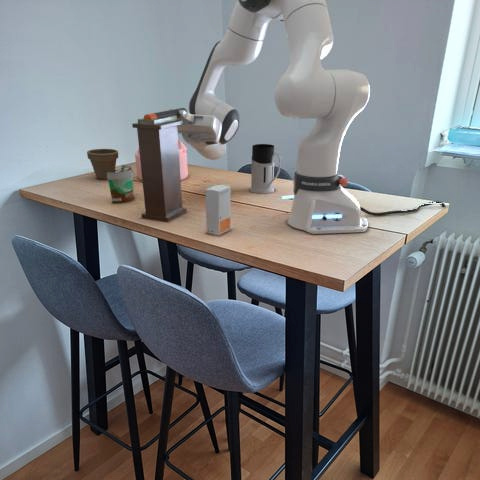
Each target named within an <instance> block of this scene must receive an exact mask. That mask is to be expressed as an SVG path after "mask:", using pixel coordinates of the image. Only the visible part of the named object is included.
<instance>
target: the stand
mask: <svg viewBox="0 0 480 480" xmlns="http://www.w3.org/2000/svg"><path fill="white" fill-rule="evenodd" d="M182 124H183V121H182V120H177V116H175V115H174V116H169V117H165V118H160V119H155V120H145V119H144V117H142V118H137V122H135V123H132V124H131V125H132V129H136V132H137V140H138V149H139V152H140V162H141V172H142V180H141V182H142V190H143V191H142V192H143V201H144V209H145V211H144V212H143V213H141V219H145V220H152V221H157V222H165V223H169V222H171V221H172V220H174V219H176V218H179V217H180V216H181V215H183V214H185V213H187V209H188V208H187V207H183V198H182V197H183V194H182V180H181V178H180V162H179V145H178V140H179V134H178V129H177V126H178V125H182Z"/></svg>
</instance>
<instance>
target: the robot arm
mask: <svg viewBox="0 0 480 480" xmlns="http://www.w3.org/2000/svg"><path fill="white" fill-rule="evenodd" d="M272 20H279V21H280V22H283V23H284V24H283V25H284V29H285V34H286V38H287V44H288V50H289V62H288V67H287V69H286V71H284V73H283V74H282V75H281V77H280V78H279V79H278V81H277V83H276V85H275V88H274V103H275V106H276V108H277V109H276V110H278V112H279V114H281V116H283V117H286V118H291V119H295V120H296V119H297V120H310V119H316V120H315V122H314V125H313V127H312V128H311V130H310V131H309V132H308V133H306V134H305V135H304V136H303V137H301V138H300V140H299V142H298V144H297V154H296V155H297V156H296V169H295V172H294V176H293V183H292V185H293V186H292V187H293V188H292V189H293V194H292V195H283V196H281V199H282V200H284V199H285V200H286V199H292V205H291V209H290V212H289V216H288V219H287V224H288V225H289V226H290V227H292V228H294V229H298V230H301V231H304V232H306V233H309V234H312V235H322V234H323V235H324V234H327V235H328V234H347V233H350V234H351V233H364V232H366V231H367V230H368V228H369V224H368V220H367V218H365V217H364V216H363V215H362V213H365V214H366V215H369V216H377V217H378V216H380V217H381V216H387V215H388V216H389V215H394V214H395V215H396V214H409V213H414V212H416V211H418V210H420V209H421V208H423V207H429V206H433V205H434V204H425V203H423V204H424V205H421V206H419V207H418V208H417V209H414V208H412V209H413V210H409V209H406V210H407V211H401V210H402V209H399V210H389V211H382V212H381V211H380V212H374V211H370V210H368V209H365V208H364V207H361V206H360V203H359V201H358V200H357V199H356V198H355V197H354V196H353V195H352V194H350V192H349V191H347V190H346V189H345V188H344V187H346V185H348V180H347V178H346V177H345V176H344V175H342V174H341V173H339V172H338V168H339V161H340V160H339V159H340V154H341V153H340V152H341V149H342V143H343V140H344V137H345V135H346V132H347V130H348V129H349V127H350V125H351V124H352V122H353V120H354V119H355V118H356V117H357V116H358V115H359V113H361V112H362V111H363V110H364V109H365V108H366V106H367V103H368V102H369V99H370V94H371V88H370V87H371V86H370V82H369V79H368V78H367V76H366V75H365V74H364V73H362V72H359V71H356V70H352V69H345V68H344V69H326V68H324V67H323V65H322V60H323V59H324V58H326V57H327V55H328V54H329V53H330V52H331V51H332V49H333V45H334V41H335V37H334V32H333V27H332V23H331V18H330V13H329V9H328V5H327V1H326V0H236V2H235V4H234V7H233V10H232V12H231V15H230V19H229V22H228V26H227V29H226V32H225V34H224V36H223V37H222V39H221V40H218V41H217V42H216V43H215V44H214V45H213V47H212V49H211V51H210V53H209V55H208V58H207V60H206V63H205V66H204V68H203V70H202V73H201V76H200V79H199V81H198V84H197V86H196V89H195V90H194V93H192V96H191V97H190V99H189V102H188V111H189V112H188V111H187V112H186V111H185V110H179V113H178V116H179V117H180V118H177V120H182V121H183V124H182V125H178V126H177V129H178V135H181V137H182V139H183V141H184V142H185V143H187V144H188V145H189V146H190V147H191V148H192V149H194V150H196V152H197V153H198V154H199V155H200V156H202V157H204V158H205V159H207V160H211V161H216V160H219V159H221V158H222V157H224V155H225V154H226V151H227V145H228V143H229V142H230V141H231V140H232V139H233V138H234V137H235V135H236V134H237V133H238V130H239V128H240V113H239V111H238V110H237V109H235V108H234V107H233V106H231V105H229V103H227V102H225V101H223V100H222V99H220V98H218V97H217V95H216V94H215V90H216V87H217V84H218V82H219V80H220V77H221V75H222V73H223V71H224V69H225V68H226V67H228V66H232V67H233V66H235V67H236V66H237V67H239V66H241V67H242V66H247V65H250V64H252V63H253V62H255V61H256V59H257V58H258V57H259V55H260V53H261V51H262V47H263V44H264V41H265V38H266V33H267V29H268V26H269V25H270V22H271V21H272ZM168 110H173V109H172V108H171V109H169V108H168V109H167V111H168ZM431 202H432V203H433V202H436V203H442V204H439V205H440V207H442V208H446V204H445V203H444V202H443V201H439V200H434V201H428V203H431ZM426 303H430V300H426Z"/></svg>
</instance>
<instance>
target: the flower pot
mask: <svg viewBox="0 0 480 480" xmlns="http://www.w3.org/2000/svg"><path fill="white" fill-rule="evenodd" d="M86 156H87V159H88V160H90V163H91V166H92V170H93V172H94V174H95V177H96V179H98V180H101V181H102V180H103V181H106V180H107V172H109V173H113V172H114V171H115V170H116V167H117V160H118V158H119V150H118V149H113V148H94V149H90V150H87V151H86Z"/></svg>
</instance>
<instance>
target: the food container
mask: <svg viewBox="0 0 480 480" xmlns="http://www.w3.org/2000/svg"><path fill="white" fill-rule="evenodd" d="M134 176H135V171H134V169H133V166H130V165H127V164H121V168H119V169H115V171H114V172H113V173H109V172H107V180H108V186H109V191H110V197H111V202H112V204H125V203H130V202H132V201H134Z"/></svg>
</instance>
